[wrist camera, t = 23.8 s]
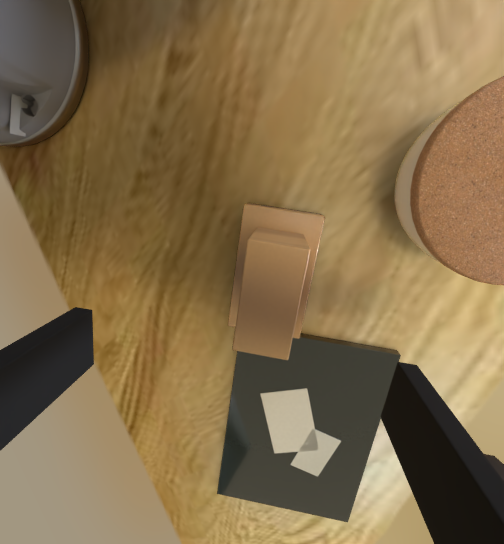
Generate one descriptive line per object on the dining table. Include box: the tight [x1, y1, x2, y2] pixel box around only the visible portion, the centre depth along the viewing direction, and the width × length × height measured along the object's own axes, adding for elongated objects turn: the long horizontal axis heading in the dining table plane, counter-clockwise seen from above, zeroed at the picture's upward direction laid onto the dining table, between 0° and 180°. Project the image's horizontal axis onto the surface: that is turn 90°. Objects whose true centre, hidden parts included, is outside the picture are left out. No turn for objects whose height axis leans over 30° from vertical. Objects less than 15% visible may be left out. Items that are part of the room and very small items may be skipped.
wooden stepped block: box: [228, 203, 325, 360], centre depth 21 cm, size 10×6×8 cm, turn 172°
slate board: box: [217, 334, 401, 522], centre depth 29 cm, size 20×14×1 cm
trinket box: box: [395, 76, 504, 285], centre depth 18 cm, size 11×11×9 cm
